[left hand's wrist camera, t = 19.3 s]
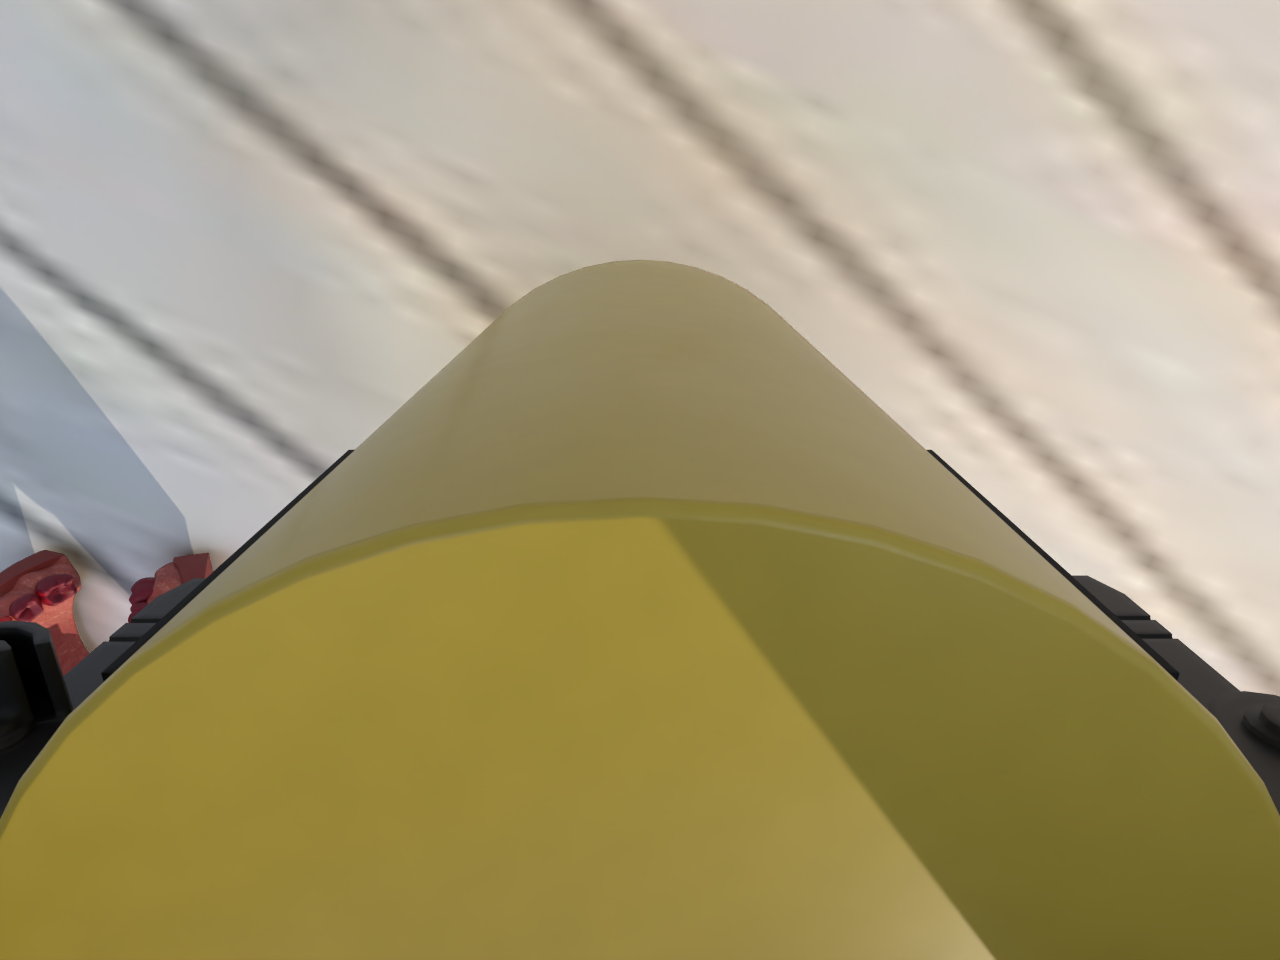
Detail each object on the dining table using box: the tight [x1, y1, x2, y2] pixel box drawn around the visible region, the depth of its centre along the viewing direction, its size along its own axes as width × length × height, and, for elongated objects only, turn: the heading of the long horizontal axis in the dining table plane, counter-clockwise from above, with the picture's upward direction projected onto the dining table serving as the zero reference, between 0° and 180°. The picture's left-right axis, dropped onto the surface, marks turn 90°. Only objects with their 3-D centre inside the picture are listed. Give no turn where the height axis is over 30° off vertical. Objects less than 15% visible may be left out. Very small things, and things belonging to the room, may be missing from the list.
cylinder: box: [0, 260, 1280, 960], centre depth 11 cm, size 8×8×13 cm
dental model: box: [0, 550, 213, 676], centre depth 25 cm, size 6×4×8 cm
